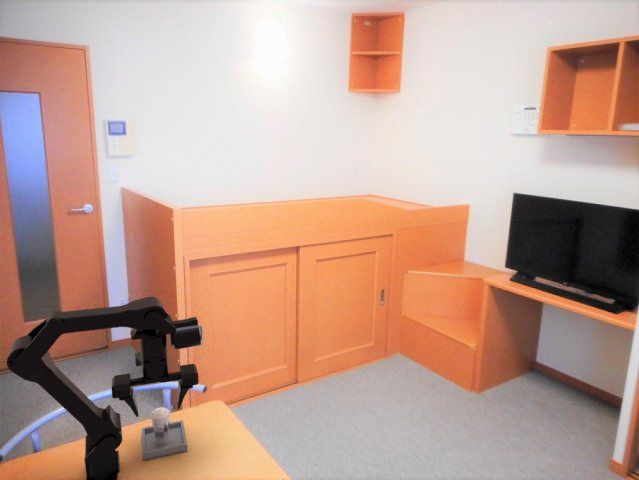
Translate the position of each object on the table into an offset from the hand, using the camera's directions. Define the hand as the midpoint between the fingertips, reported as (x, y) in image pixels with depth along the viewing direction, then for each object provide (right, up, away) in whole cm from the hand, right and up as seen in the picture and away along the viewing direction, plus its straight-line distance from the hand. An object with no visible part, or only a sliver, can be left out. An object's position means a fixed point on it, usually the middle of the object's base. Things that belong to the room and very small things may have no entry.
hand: (158, 412), depth 111 cm
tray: (-2, -11, +9) cm, 14 cm away
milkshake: (-2, -11, +9) cm, 14 cm away
